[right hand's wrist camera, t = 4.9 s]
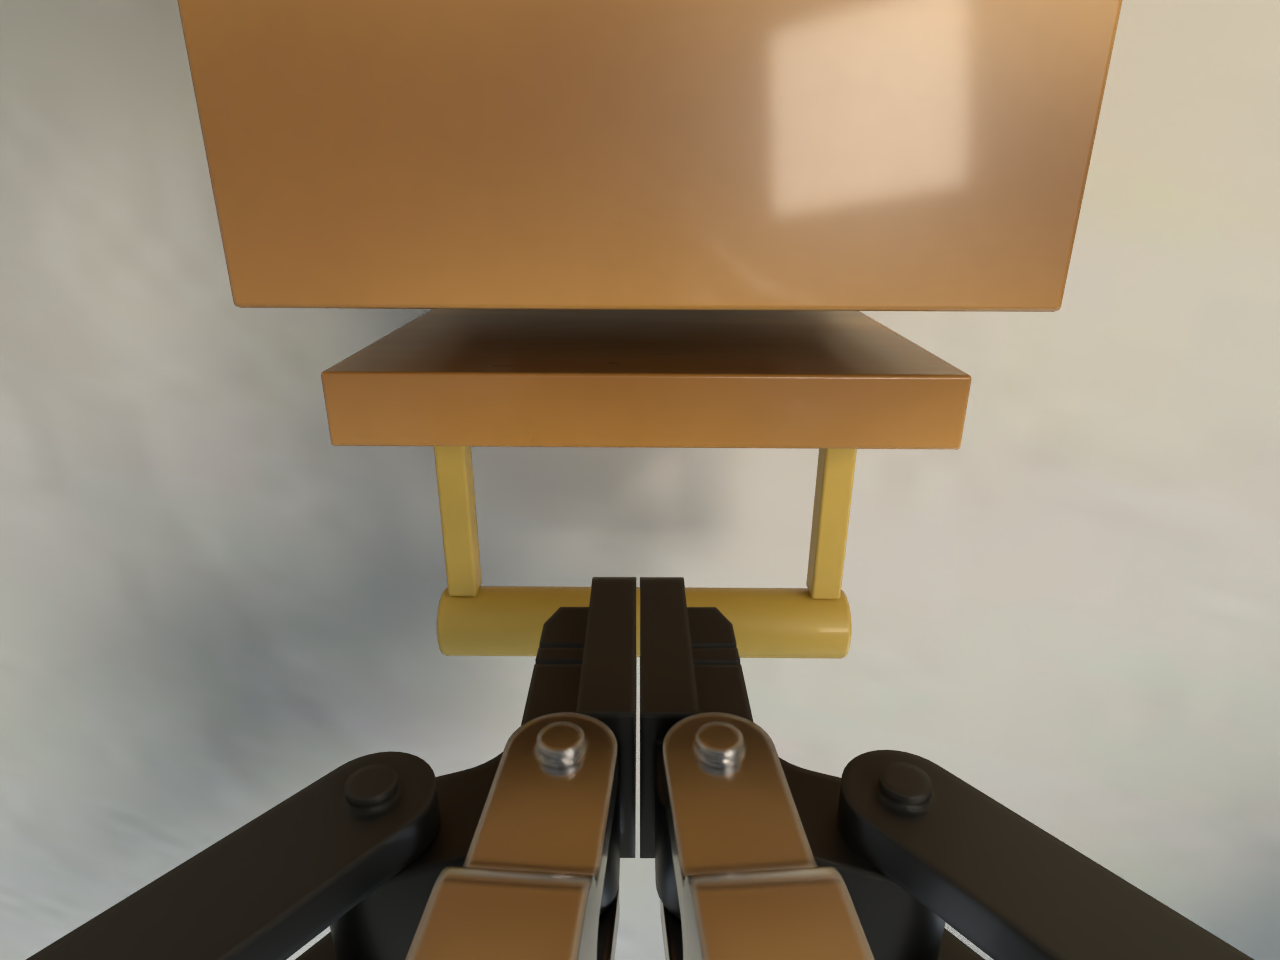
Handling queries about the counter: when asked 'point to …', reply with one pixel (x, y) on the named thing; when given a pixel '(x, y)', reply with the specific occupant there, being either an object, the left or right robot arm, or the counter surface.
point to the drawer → (646, 432)
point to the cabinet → (649, 151)
